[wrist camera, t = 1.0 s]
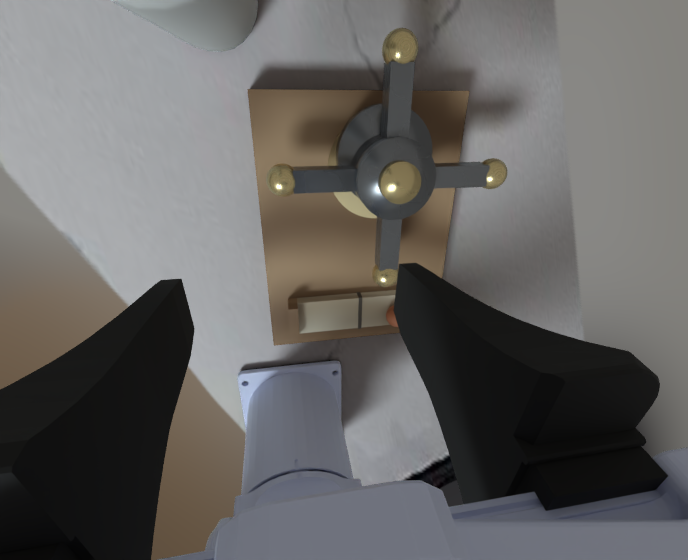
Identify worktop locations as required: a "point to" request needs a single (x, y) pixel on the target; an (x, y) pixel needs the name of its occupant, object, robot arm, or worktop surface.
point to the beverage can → (199, 20)
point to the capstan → (387, 160)
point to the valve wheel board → (339, 214)
